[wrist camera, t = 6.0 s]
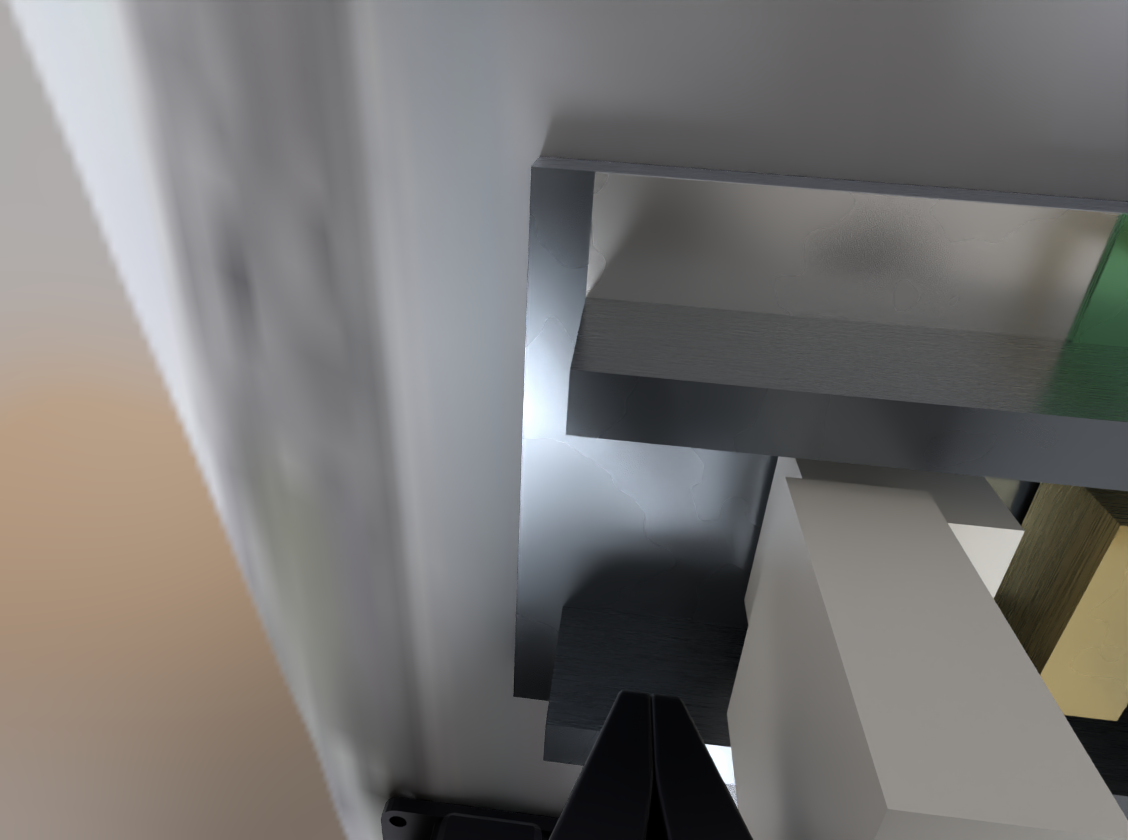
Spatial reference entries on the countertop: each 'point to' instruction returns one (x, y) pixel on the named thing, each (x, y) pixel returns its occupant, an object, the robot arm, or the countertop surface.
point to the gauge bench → (780, 398)
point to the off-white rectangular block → (897, 672)
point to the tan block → (1073, 596)
